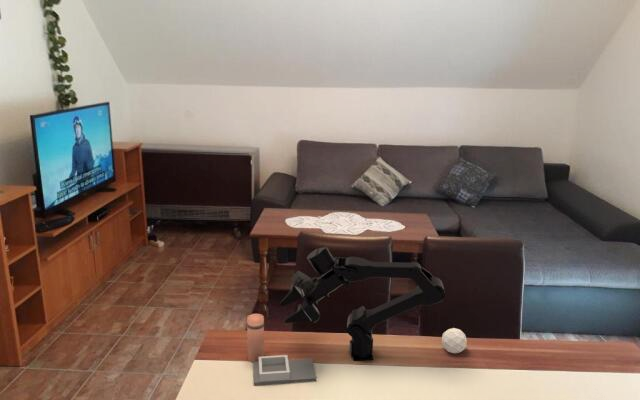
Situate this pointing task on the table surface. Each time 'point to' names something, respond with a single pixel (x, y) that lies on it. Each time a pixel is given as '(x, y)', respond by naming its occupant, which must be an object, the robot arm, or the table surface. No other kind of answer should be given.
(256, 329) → the banded pink rod
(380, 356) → the table surface
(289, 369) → the jig
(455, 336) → the geometric ball
